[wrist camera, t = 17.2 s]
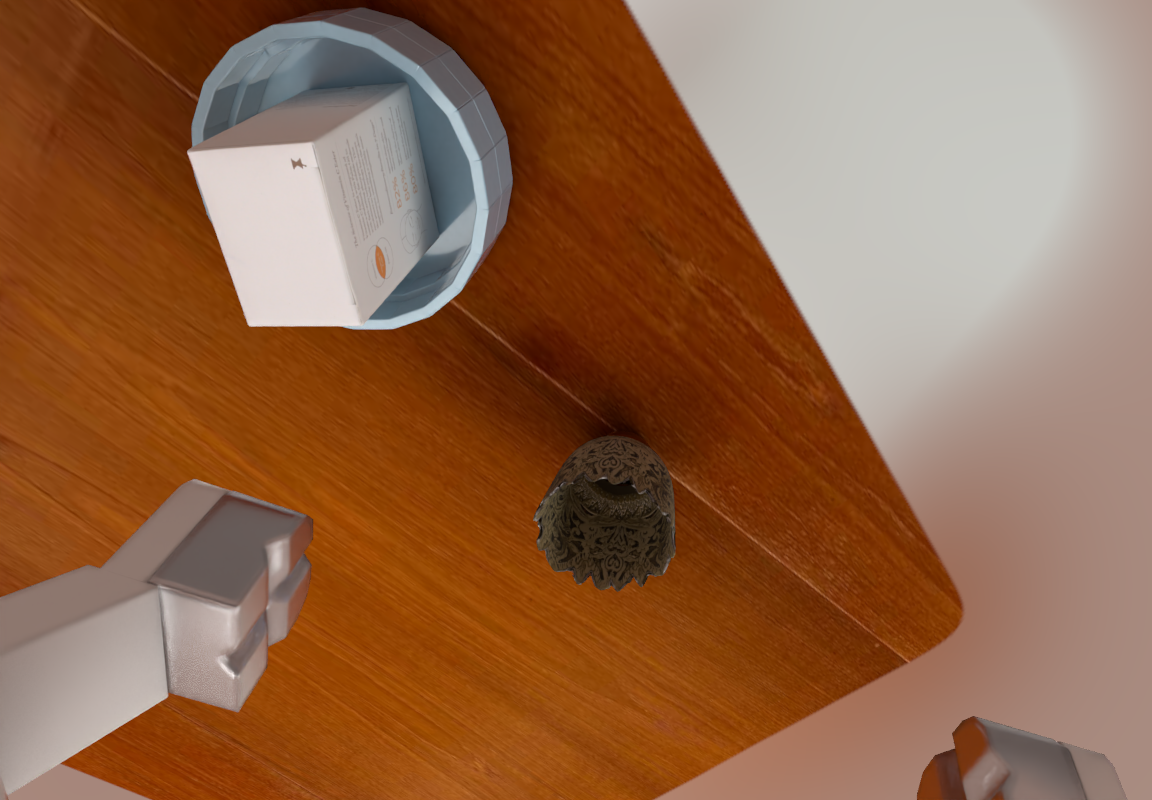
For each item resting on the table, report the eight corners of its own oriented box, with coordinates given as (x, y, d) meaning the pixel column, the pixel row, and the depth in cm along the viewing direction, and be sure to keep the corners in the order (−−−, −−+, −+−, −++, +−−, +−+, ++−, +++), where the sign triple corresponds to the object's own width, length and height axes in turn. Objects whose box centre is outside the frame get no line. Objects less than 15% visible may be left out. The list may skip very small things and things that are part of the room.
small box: (305, 87, 41) (180, 144, 32) (412, 79, 40) (311, 136, 31) (345, 242, 45) (244, 330, 36) (443, 239, 44) (362, 329, 35)
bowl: (538, 52, 38) (511, 73, 34) (491, 319, 46) (463, 362, 42) (245, -29, 39) (184, -17, 35) (248, 249, 47) (198, 285, 43)
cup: (685, 505, 51) (673, 600, 44) (567, 495, 52) (538, 586, 45) (688, 401, 47) (675, 488, 40) (560, 393, 48) (527, 476, 42)
